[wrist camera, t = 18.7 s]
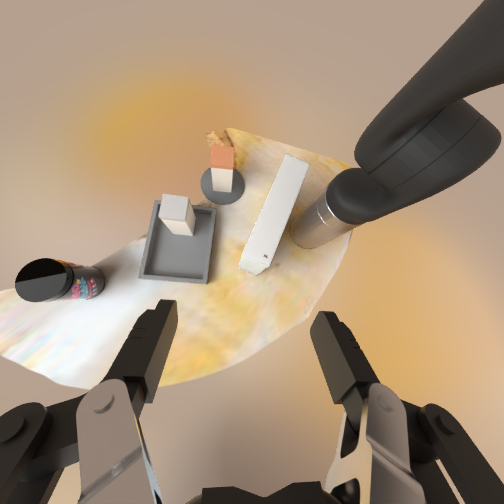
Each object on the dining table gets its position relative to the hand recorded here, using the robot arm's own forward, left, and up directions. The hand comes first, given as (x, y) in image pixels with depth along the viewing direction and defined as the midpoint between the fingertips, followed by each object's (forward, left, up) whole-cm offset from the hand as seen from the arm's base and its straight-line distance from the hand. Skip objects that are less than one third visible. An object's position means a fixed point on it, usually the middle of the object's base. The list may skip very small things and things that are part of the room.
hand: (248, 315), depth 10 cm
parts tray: (+11, -13, -33) cm, 37 cm away
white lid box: (+11, -17, -32) cm, 38 cm away
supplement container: (+29, -4, -33) cm, 44 cm away
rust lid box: (+2, -29, -32) cm, 43 cm away
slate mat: (+2, -29, -33) cm, 43 cm away
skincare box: (-8, -16, -33) cm, 37 cm away
